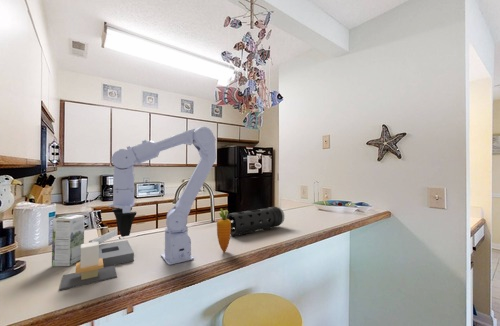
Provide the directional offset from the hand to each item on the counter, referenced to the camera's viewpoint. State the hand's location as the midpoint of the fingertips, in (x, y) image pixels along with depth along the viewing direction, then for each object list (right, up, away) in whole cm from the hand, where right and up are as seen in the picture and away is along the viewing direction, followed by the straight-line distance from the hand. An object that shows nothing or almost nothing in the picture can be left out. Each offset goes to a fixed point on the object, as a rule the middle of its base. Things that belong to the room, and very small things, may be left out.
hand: (123, 233), depth 72 cm
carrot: (+30, -10, +9) cm, 33 cm away
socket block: (-8, -10, +6) cm, 13 cm away
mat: (-4, -9, -9) cm, 13 cm away
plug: (-4, -9, -9) cm, 13 cm away
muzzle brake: (+42, -10, +36) cm, 56 cm away
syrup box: (-18, -10, +1) cm, 20 cm away
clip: (-13, -7, +12) cm, 19 cm away
